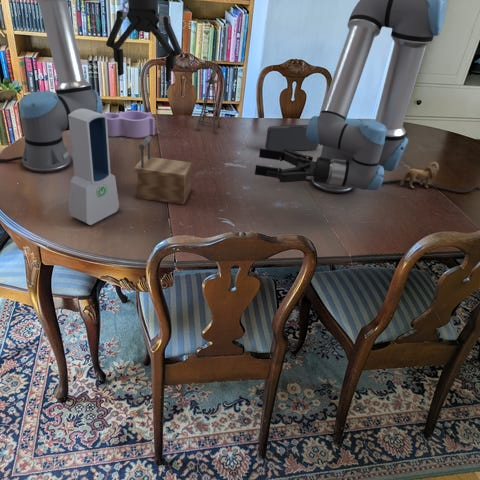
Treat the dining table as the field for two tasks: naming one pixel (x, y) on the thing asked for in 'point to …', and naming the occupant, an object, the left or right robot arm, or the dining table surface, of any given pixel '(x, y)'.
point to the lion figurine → (421, 174)
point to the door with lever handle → (160, 164)
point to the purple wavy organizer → (130, 124)
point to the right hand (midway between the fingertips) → (257, 160)
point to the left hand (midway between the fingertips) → (144, 77)
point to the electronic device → (91, 168)
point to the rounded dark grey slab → (288, 138)
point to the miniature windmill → (212, 82)
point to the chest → (164, 187)
